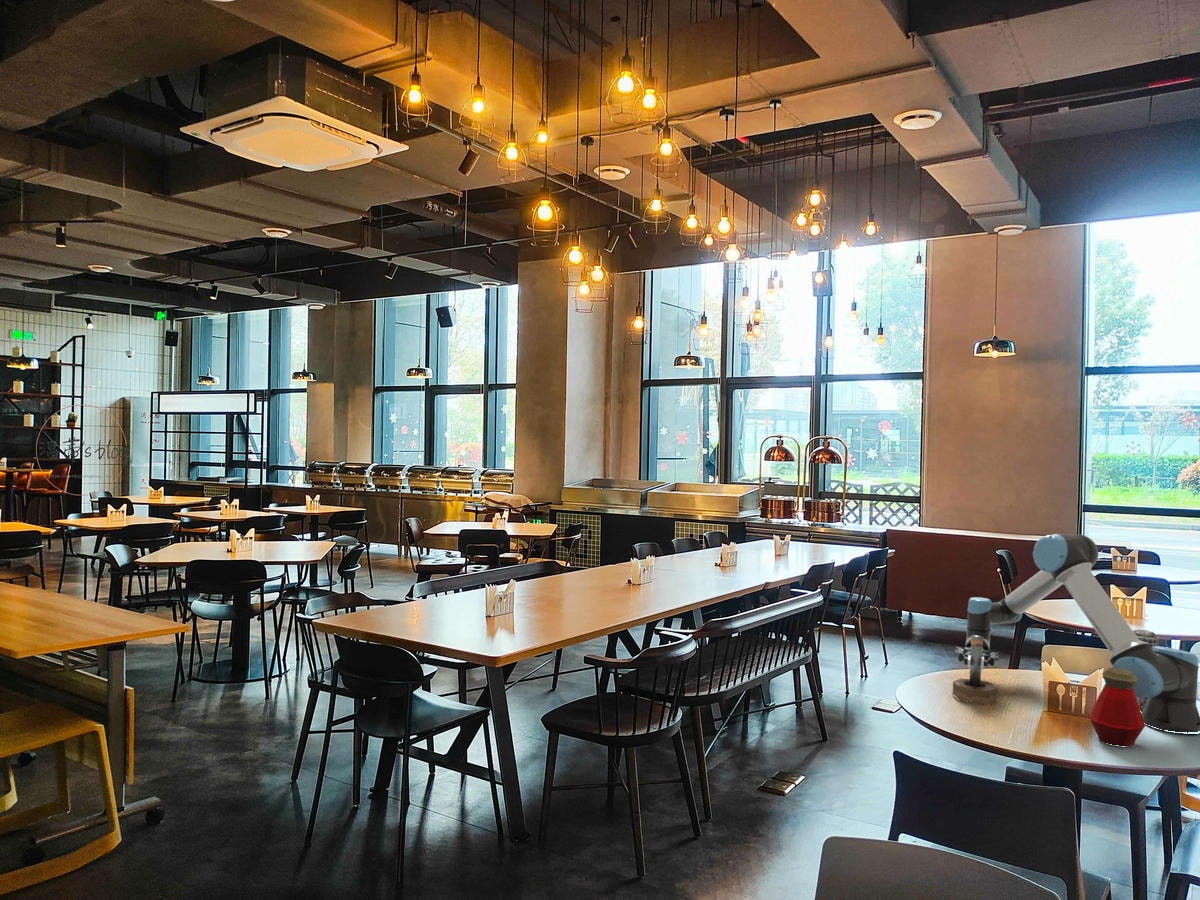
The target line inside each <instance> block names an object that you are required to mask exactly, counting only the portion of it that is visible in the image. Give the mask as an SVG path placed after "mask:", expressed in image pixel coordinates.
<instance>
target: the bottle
mask: <svg viewBox="0 0 1200 900" xmlns="http://www.w3.org/2000/svg"><path fill="white" fill-rule="evenodd" d="M1102 677H1103V680H1104V683H1105V684H1104V686H1103V687H1102V690H1101V691H1100V693H1099V695H1098V696H1097V699H1096V701H1095V702H1094V704H1093V706H1092V708H1091V710H1090V711H1089V714H1088V716H1089V720H1090V722H1091V724H1092V726H1093V729H1094V731H1095V733H1096V735H1097V737H1098V739H1099V741H1100V742H1101V741H1102V743H1103V742H1104V743H1103V744H1105V743H1108V744H1112V745H1119V746H1130V745H1132V744H1133V745H1134V744H1135V742H1136V741H1137V739H1138V737H1139V736H1140V735H1141V734H1142V732H1143V730H1144V729H1145V726H1146V725H1145V724H1144V722H1143V718H1142V715H1141V712H1140V709H1139V706H1138V702H1137V699H1136V696H1135V693H1134V690H1133V688H1134V686H1135V684H1136V682H1137V678H1136V677H1135V676H1134V675H1133V673H1132V672H1131V671H1129V670H1126V669H1122V668H1113V667H1109V668H1108V669H1106V670H1105V671H1104V672H1102ZM1108 744H1107V745H1108ZM1112 745H1111V746H1112ZM1133 745H1132V746H1133ZM1130 747H1131V746H1130Z"/></svg>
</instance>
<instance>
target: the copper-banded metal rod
mask: <svg viewBox="0 0 1200 900" xmlns="http://www.w3.org/2000/svg"><path fill="white" fill-rule="evenodd" d="M982 639H983V637H982V636H979V635H972V638H971V664H970V668H969V679H970V682H969V686H972V687H979V688H980V681H982V680H981V678H982V677H981V676H982V675H981V674H982V670H981V658H982V642H983V640H982Z"/></svg>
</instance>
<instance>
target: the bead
mask: <svg viewBox="0 0 1200 900" xmlns="http://www.w3.org/2000/svg"><path fill="white" fill-rule="evenodd" d="M969 682H970V678H958V679H956V680H953V681H952V695H953V694H954V695H955V696H956V697H957V698H958V699H961V700H965V701H968V702H971V703H970V704H972V703H976V704H975V705H985V704H990V705H992V703H993V704H995V703H997V701H998V698H997V697H998V687H997V686H995V685H994V684H993V683H991V682H987V681H983V680H981V681H980V688H979V687H972V686H969ZM957 698H956V699H957ZM958 699H957V700H958ZM961 700H960V701H961ZM965 701H964V702H965ZM968 702H967V703H968ZM994 702H995V703H994Z"/></svg>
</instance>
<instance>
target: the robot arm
mask: <svg viewBox="0 0 1200 900" xmlns="http://www.w3.org/2000/svg"><path fill="white" fill-rule="evenodd" d="M1032 558H1033V561H1034V564H1035V565H1036V567H1037V568H1038V569H1039V570H1040V571H1038V572H1036V573H1035V574H1033V576H1031V577H1030V578H1028V580H1026V581H1024V582H1023V583H1022V584H1021V585H1019V586H1018V587H1017V588H1015V590H1013V591H1012V592H1010V593H1009V594H1007V595H1006V596H1005V597H1004V598H1002V599H1001V600H999V601H998V602H997V601H996V602H992V600H991V599H989V598H986V597H980V596H979V597H976V596H974V597H970V598H969V599H968V604H967V609H966V610H967V624H966V626H967V627H966V640H965V647H963V648H962V647H959V646H955V656H957V661H959V662H963V663H964V664H963V665H965V666H967V669H970V664H971V638H972V635H979V636H982V637H983V639H982V640H983V642H982V658H981V671H984V667H988V665H989V666H991V667H994V665H995V664H996V663H997V662H996V661H999V654H1000V653H999V652H998V651H994V652H993V651H990V647H991V626H992V625H1000V624H1013V623H1017V622H1019V621H1020V620H1022V617H1023V615H1024V613H1025V612H1026V611H1028V610H1029V609H1030V608H1032V607H1033V606H1035V605H1036V604H1038V603H1039V602H1041V600H1043V599H1044V598H1046V597H1047V596H1049V595H1050V594H1051V593H1053V592H1054V591H1055V590H1057V589H1058V588H1060V587H1061V586H1062V585H1063V586H1065V588H1066V590H1067V591H1068V592H1069V594H1070V595H1071V597H1072V598H1073V599H1074V601H1075V603H1076V604H1077V606H1078V607H1079V608H1080V610H1081V611H1082V613H1083V615H1085V617H1086V619H1087V620H1088V622H1089V624H1091V627H1092V628H1093V629H1094V631H1095V632H1096V633H1097V635H1098V636H1099V638H1100V640H1101V641H1102V642H1103V643H1104V645H1105V646H1106V648H1107V650H1108V651H1109V653H1110V656H1109V658H1108V661H1109V662H1110V664H1111V665H1112V668H1122V669H1126V670H1129V671H1131V672H1132V673H1133V675H1134V676H1135V677H1136V678H1137V682H1136V684H1135V686H1134V688H1133V690H1134V693H1135V696H1136V697H1137V698H1148V700H1147V702H1146V704H1145V706H1144V708H1143V711H1142V713H1141V715H1142V718H1143V722H1144V723H1145V724H1147V725H1150V726H1153V727H1156V728H1159V729H1162V730H1168V731H1175V732H1187V733H1188V732H1198V731H1200V714H1199V712H1200V711H1199V710H1198V707H1197V697H1198V696H1197V695H1198V694H1197V693H1198V681H1199V680H1198V678H1199V677H1198V675H1199V668H1200V666H1199V658H1198V656H1197V655H1196V654H1194V653H1192V652H1189V651H1186V650H1181V649H1177V648H1174V647H1173V648H1172V647H1165V646H1158V645H1157V646H1153V647H1152V648H1151V646H1150V645H1149V643H1147V642H1143V641H1140V640H1139V639H1138V637H1137V636H1136V635H1135V633H1134V632H1133V630H1134V629H1132V627H1131V626H1130V625H1129V623H1128V622H1127V621H1126V620H1125V618H1124V617H1123V615H1122V613H1121V611H1119V609H1118V608H1117V606H1116V605H1115V604H1114V603H1113V601H1112V599H1111V597H1109V595H1108V594H1107V593H1106V591H1105V590H1104V588H1103V587H1102V586H1101V584H1100V583H1099V581H1098V580H1097V578H1096V577H1095V576H1094V574H1093V573H1092V571H1091V570H1092V568H1093V567H1094V566H1095V565H1096V563H1097V562H1098V559H1099V550H1098V546H1097V545H1096V543H1095V542H1094V541H1093V539H1091V538H1090V537H1088V536H1087V535H1083V534H1078V533H1072V534H1069V533H1068V534H1058V533H1053V534H1049V535H1044V536H1042V537H1041V538H1039V539H1038V540H1037V541H1036V543H1035V545H1034V547H1033V551H1032ZM1145 724H1144V725H1145ZM1147 725H1146V726H1147Z"/></svg>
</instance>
